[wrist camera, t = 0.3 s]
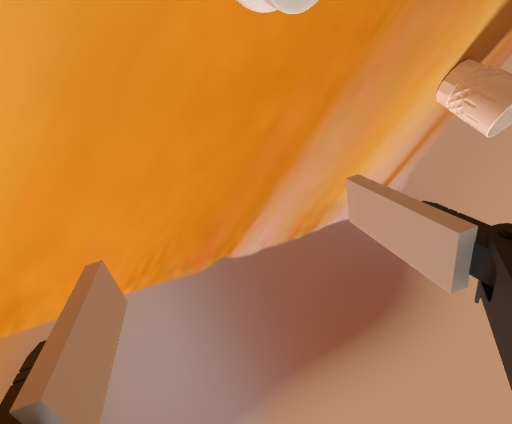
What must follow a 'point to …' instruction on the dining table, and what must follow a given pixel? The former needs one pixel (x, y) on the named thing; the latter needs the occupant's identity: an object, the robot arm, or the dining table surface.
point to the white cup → (478, 96)
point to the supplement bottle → (278, 5)
